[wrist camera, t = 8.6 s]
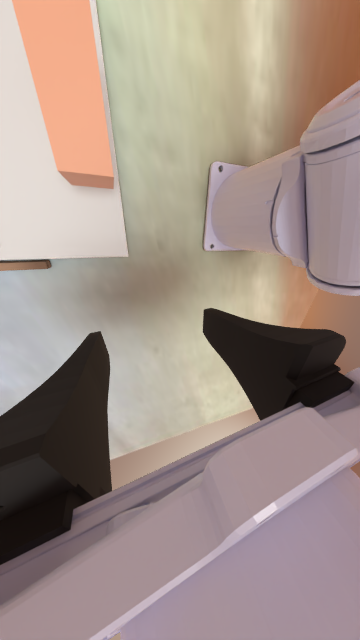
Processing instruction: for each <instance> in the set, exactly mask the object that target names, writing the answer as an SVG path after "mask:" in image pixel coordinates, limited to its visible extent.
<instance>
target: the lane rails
mask: <svg viewBox="0 0 360 640" xmlns="http://www.w3.org/2000/svg"><path fill="white" fill-rule="evenodd" d="M50 267H51V264H50V261H49V260H27V261H0V271H6V270H29V269H48V268H50Z"/></svg>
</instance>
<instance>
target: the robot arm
mask: <svg viewBox="0 0 360 640" xmlns="http://www.w3.org/2000/svg"><path fill="white" fill-rule="evenodd" d="M219 167H220V168H221V172H219V170H218V168H219ZM211 244H212V248H210V245H211ZM203 248H204V250H206V251H229V250H251V251H257V252H263V253H268V254H274V255H280V256H285V257H289V258H290V259H291V261H292V265H293V266H298V267H303V268H307V269H306V272H307V277H308V279H309V281H310V282H311V283H312V284H313V285H314V286H316V287H318V288H319V289H322V290H324V291H327V292H331V293H335V294H341V295H352V296H360V80H359V81H357V82H356V83H355V84H353V85H352V86H350V87H349V88H347V89H346V90H345V91H343V92H342V93H341V94H339V95H338V96H336V97H335V98H334V99H332V100H331V101H330V102H329V103H327V104H326V105H325V106H324V107H322V108H321V109H320V110H319V111H318V112H317V113H316V114H315V116H314V118H313V119H312V121H311V123H310V124H309V126H308V128H307V129H306V130H305V132H304V133H303V134H302V136H301V139H300V145H298V146H296V147H294V148H291V149H289V150H287V151H284V152H282V153H280V154H277V155H275V156H273V157H271V158H268V159H266V160H264V161H261V162H259V163H257V164H254V165H252V166H250V167H246V166H240V165H235V164H229V163H223V162H218V161H216V162H214V163H212V164H211V167H210V175H209V186H208V198H207V209H206V221H205V232H204V244H203ZM203 333H204V335H205V337H206V338H207V340H208V342H209V343H210V344H211V345H212V347H213V348H214V349H215V350H216V352H217V353H218V354H219V355H220V356H221V358H222V359H223V360H224V361H225V363H226V364H227V365H228V366H229V368H230V369H231V371H232V372H233V374H234V375H235V377H236V378H237V380H238V382H239V383H240V385H241V387H242V388H243V390H244V391H245V393H246V395H247V397H248V399H249V400H250V402H251V404H252V406H253V407H254V409H255V411H256V413H257V415H258V417H259V419H260V421H259V422H257V423H255V424H253V425H251V426H248V427H246V428H244V429H242V430H240V431H238V432H236V433H234V434H232V435H229V436H227V437H225V438H223V439H221V440H219V441H217V442H215V443H213V444H210V445H208V446H206V447H204V448H202V449H200V450H198V451H196V452H194V453H191V454H190V455H187V456H185V457H183V458H181V459H179V460H177V461H175V462H172V463H171V464H168V465H166V466H164V467H162V468H160V469H158V470H156V471H154V472H151V473H149V474H147V475H145V476H143V477H141V478H139V479H137V480H134V481H132V482H130V483H128V484H126V485H124V486H122V487H120V488H118V489H115V490H113V491H112V484H111V472H110V457H109V440H108V414H107V405H108V390H109V377H110V360H109V354H108V351H107V348H106V345H105V342H104V340H103V337H102V334H101V331H99V332H94V333H90V334H89V335H88V336H87V337H86V339H85V340H84V341H83V342H82V344H81V345H80V346H79V347H78V348H77V350H76V351H75V352H74V353H73V354H72V355H71V357H70V358H69V359H68V360H67V361H66V362H65V363H64V364H63V365H62V366H61V367H60V368H59V369H58V370H57V371H56V372H55V373H54V374H53V375H52V376H51V377H50V378H49V379H48V380H46V381H45V382H44V383H43V384H42V385H41V386H40V387H38V388H37V389H36V390H35V391H33V392H32V393H31V394H30V395H28V396H27V397H26V398H25V399H23V400H22V401H21V402H19V403H18V404H17V405H15V406H14V407H13V408H11V409H10V410H9V411H7V412H6V413H4V414H3V415H1V416H0V640H109V639H111V638H112V637H113V636H115V635H116V634H118V633H119V632H121V640H360V478H359V477H358V476H357V475H356V474H355V473H354V472H353V471H352V470H351V469H350V468H351V467H352V466H353V465H355V464H356V463H358V462H359V461H360V367H359V368H356V369H354V370H352V371H350V372H348V373H347V374H346V375H342V374H341V373H339V372H338V371H340V368H339V367H338V366H336V365H335V364H334V363H335V362H336V360H337V359H338V357H339V355H340V354H341V352H342V351H343V349H344V347H345V344H346V339H345V337H344V336H342V335H340V334H338V333H336V332H334V331H331V330H326V329H301V328H290V327H282V326H275V325H269V324H264V323H260V322H255V321H251V320H248V319H244V318H241V317H238V316H235V315H232V314H229V313H226V312H223V311H220V310H217V309H213V308H209V309H204V318H203Z"/></svg>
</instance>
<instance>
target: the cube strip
mask: <svg viewBox="0 0 360 640" xmlns="http://www.w3.org/2000/svg"><path fill="white" fill-rule="evenodd" d="M93 257H128V249H127V241H126V233H125V226H124V218H123V210H122V202H121V194H120V187H119V179H118V171H117V163H116V155H115V148H114V140H113V132H112V124H111V116H110V109H109V101H108V93H107V85H106V77H105V70H104V62H103V54H102V46H101V38H100V31H99V23H98V15H97V7H96V0H0V260H22V259H57V258H93Z"/></svg>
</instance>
